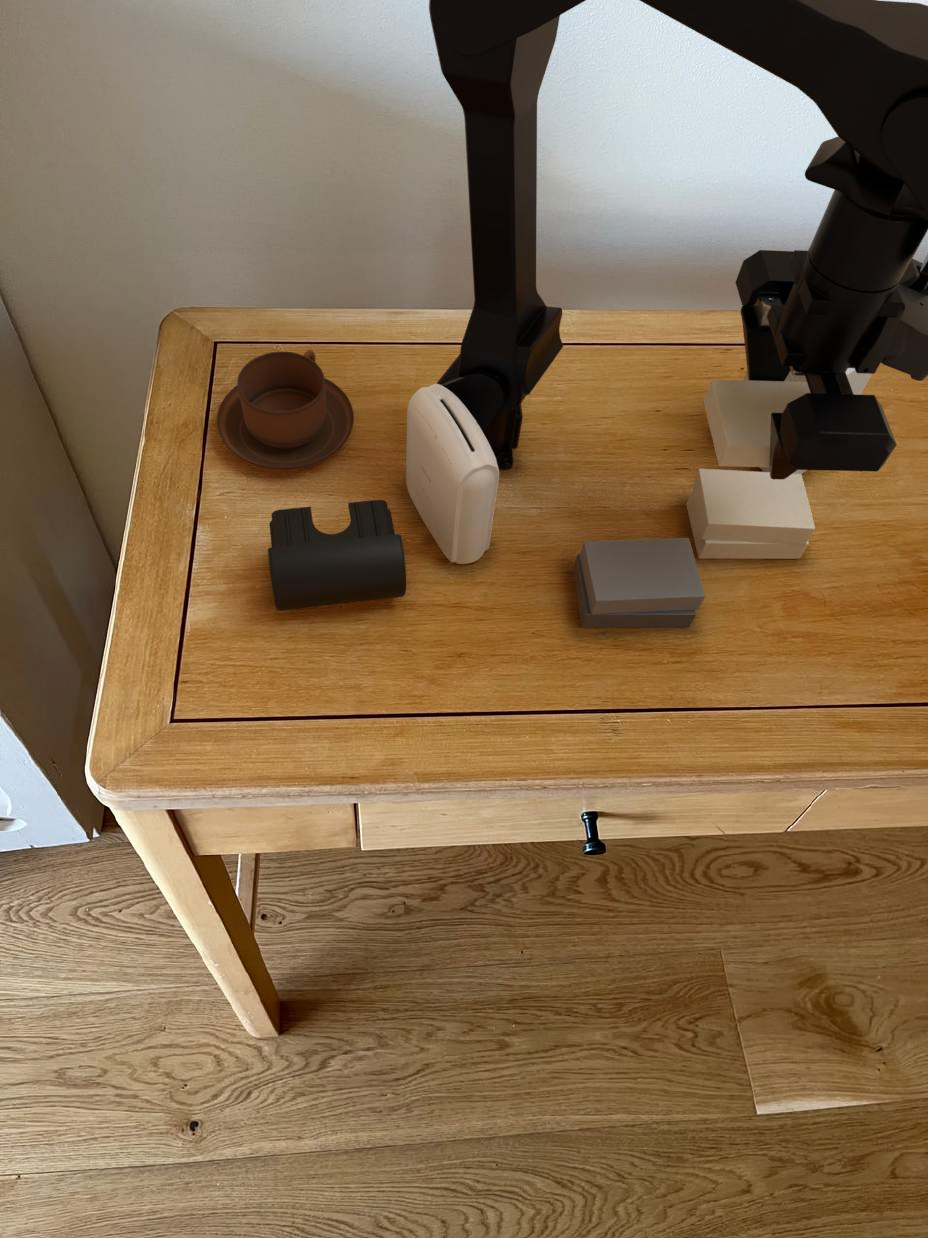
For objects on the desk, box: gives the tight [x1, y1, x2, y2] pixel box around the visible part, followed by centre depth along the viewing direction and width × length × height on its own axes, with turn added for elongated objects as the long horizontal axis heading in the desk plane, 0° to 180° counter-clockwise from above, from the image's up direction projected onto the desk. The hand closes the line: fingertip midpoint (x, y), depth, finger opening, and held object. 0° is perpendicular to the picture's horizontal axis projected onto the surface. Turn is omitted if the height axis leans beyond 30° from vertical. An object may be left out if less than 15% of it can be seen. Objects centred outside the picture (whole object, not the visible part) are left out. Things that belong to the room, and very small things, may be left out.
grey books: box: [572, 537, 706, 629], centre depth 75 cm, size 9×6×4 cm
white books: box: [686, 468, 816, 560], centre depth 80 cm, size 9×6×4 cm
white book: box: [703, 378, 810, 468], centre depth 68 cm, size 9×7×2 cm
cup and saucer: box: [216, 349, 355, 472], centre depth 81 cm, size 12×12×6 cm
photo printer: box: [405, 382, 500, 565], centre depth 75 cm, size 10×4×12 cm, turn 26°
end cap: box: [267, 499, 407, 612], centre depth 72 cm, size 10×7×7 cm
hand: (767, 442), depth 69 cm, fingers closed on white book, 6 cm apart
